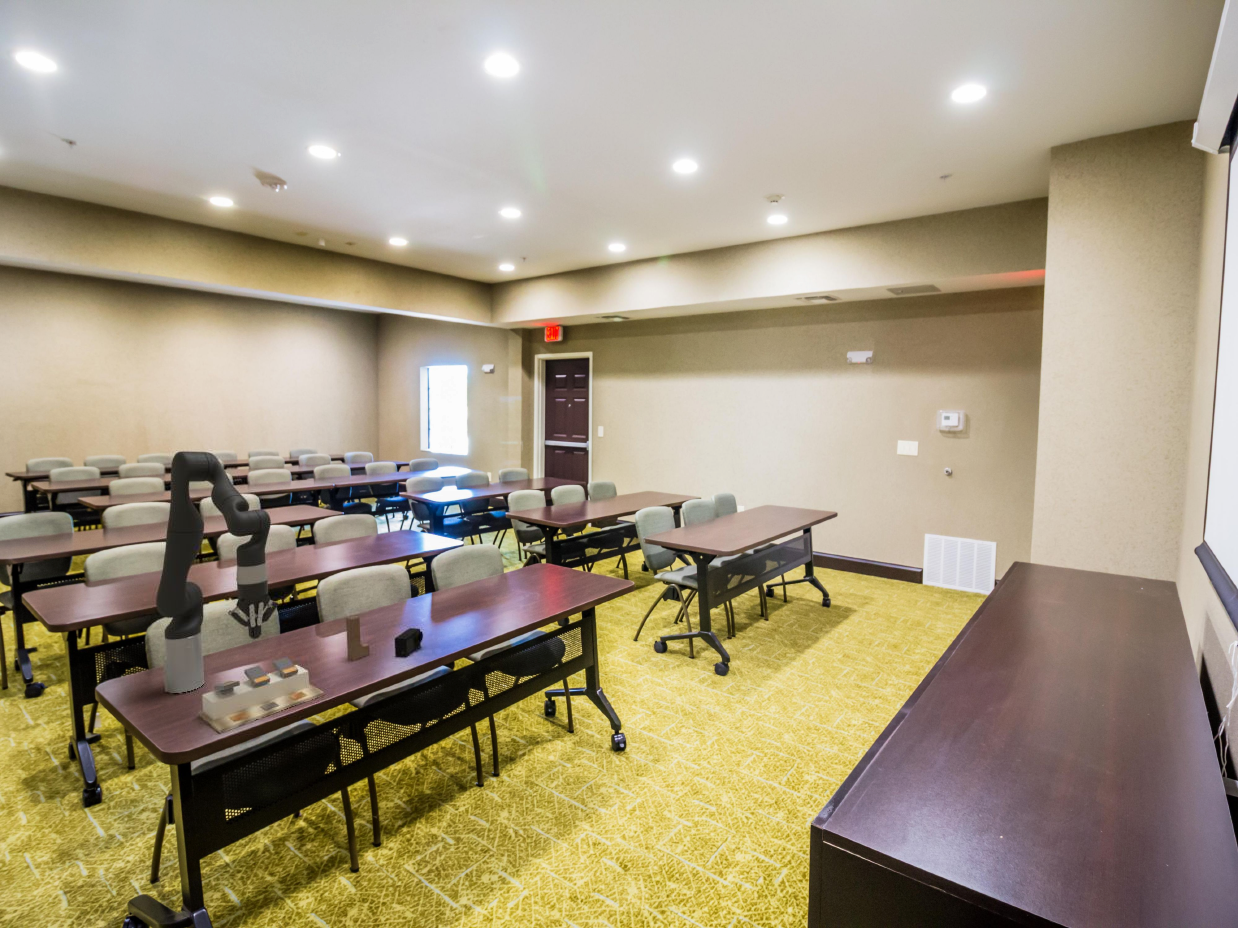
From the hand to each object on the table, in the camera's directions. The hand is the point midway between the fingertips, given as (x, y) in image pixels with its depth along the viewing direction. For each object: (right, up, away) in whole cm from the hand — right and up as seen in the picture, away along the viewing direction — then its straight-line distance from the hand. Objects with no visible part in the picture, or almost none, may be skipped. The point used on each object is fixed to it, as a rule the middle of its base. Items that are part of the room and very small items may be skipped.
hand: (255, 637), depth 173 cm
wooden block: (+13, -18, +39) cm, 45 cm away
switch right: (+2, -12, +11) cm, 17 cm away
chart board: (0, -21, +4) cm, 21 cm away
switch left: (-8, -13, -1) cm, 15 cm away
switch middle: (-3, -13, +5) cm, 14 cm away
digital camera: (+30, -18, +43) cm, 56 cm away
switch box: (-3, -20, +6) cm, 21 cm away
